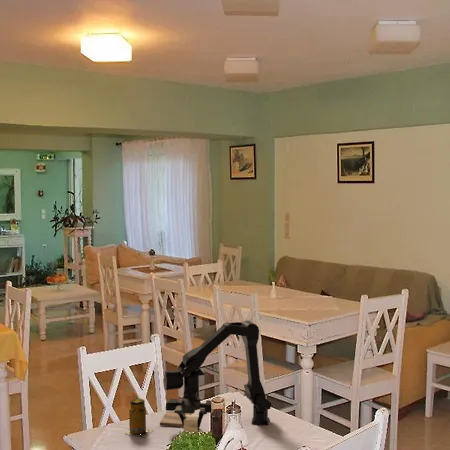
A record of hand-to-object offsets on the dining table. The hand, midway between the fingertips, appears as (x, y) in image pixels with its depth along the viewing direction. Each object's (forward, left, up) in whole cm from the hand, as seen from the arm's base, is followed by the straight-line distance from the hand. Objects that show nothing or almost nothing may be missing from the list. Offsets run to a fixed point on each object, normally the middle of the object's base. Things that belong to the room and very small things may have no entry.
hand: (191, 427), depth 228 cm
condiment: (+4, -19, -1) cm, 19 cm away
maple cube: (0, 0, -1) cm, 1 cm away
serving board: (-9, -8, -1) cm, 12 cm away
